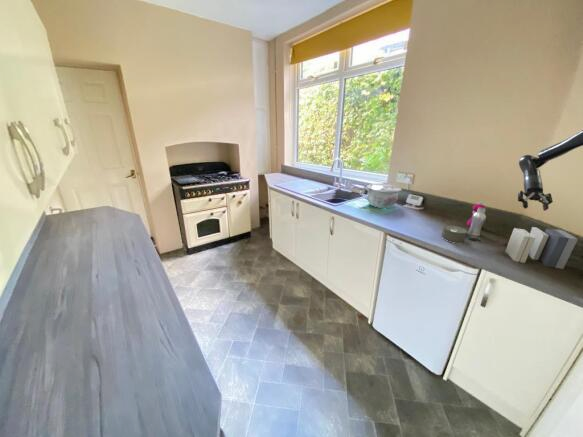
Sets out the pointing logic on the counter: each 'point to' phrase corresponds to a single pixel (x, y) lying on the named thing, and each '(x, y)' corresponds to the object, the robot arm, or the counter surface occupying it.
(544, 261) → the grey books
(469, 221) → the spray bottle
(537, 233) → the white book
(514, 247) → the white books
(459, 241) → the can
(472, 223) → the plastic bottle
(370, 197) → the chamber pot
